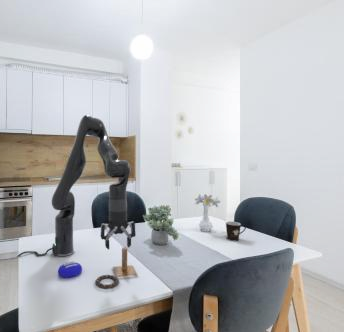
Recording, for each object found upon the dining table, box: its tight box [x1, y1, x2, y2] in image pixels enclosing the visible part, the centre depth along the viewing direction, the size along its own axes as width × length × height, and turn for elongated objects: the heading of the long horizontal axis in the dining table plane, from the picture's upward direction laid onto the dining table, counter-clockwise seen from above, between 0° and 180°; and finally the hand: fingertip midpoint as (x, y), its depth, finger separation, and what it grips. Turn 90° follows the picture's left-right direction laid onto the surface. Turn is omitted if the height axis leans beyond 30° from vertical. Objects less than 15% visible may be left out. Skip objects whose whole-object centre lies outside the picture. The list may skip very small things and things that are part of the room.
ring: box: [94, 274, 120, 290], centre depth 99 cm, size 10×10×2 cm
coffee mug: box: [225, 220, 246, 242], centre depth 152 cm, size 12×9×10 cm
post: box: [112, 247, 138, 278], centre depth 109 cm, size 9×9×11 cm
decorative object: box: [57, 260, 83, 279], centre depth 107 cm, size 10×6×10 cm
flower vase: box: [194, 193, 221, 232], centre depth 170 cm, size 13×18×25 cm
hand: (118, 247), depth 101 cm, fingers open, 8 cm apart
